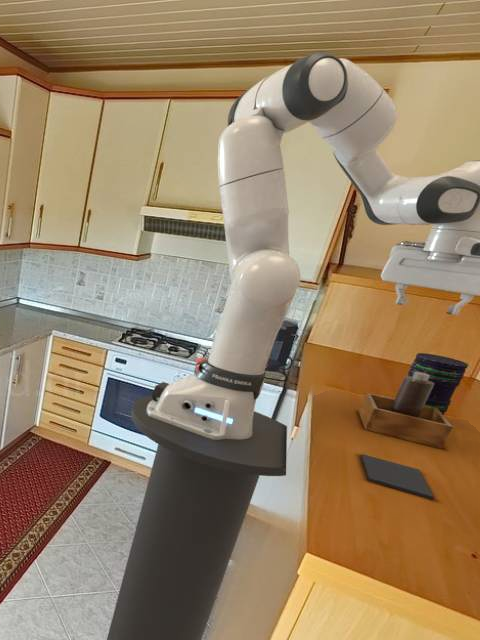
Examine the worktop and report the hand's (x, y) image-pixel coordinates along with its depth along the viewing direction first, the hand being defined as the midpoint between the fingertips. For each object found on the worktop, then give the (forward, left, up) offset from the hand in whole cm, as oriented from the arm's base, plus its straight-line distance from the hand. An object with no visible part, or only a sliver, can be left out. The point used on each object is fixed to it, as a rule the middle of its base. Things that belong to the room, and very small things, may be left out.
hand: (425, 309), depth 109 cm
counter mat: (-2, -35, -27) cm, 45 cm away
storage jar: (+10, +15, -28) cm, 33 cm away
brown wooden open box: (+3, -3, -27) cm, 28 cm away
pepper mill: (+3, -3, -27) cm, 27 cm away
